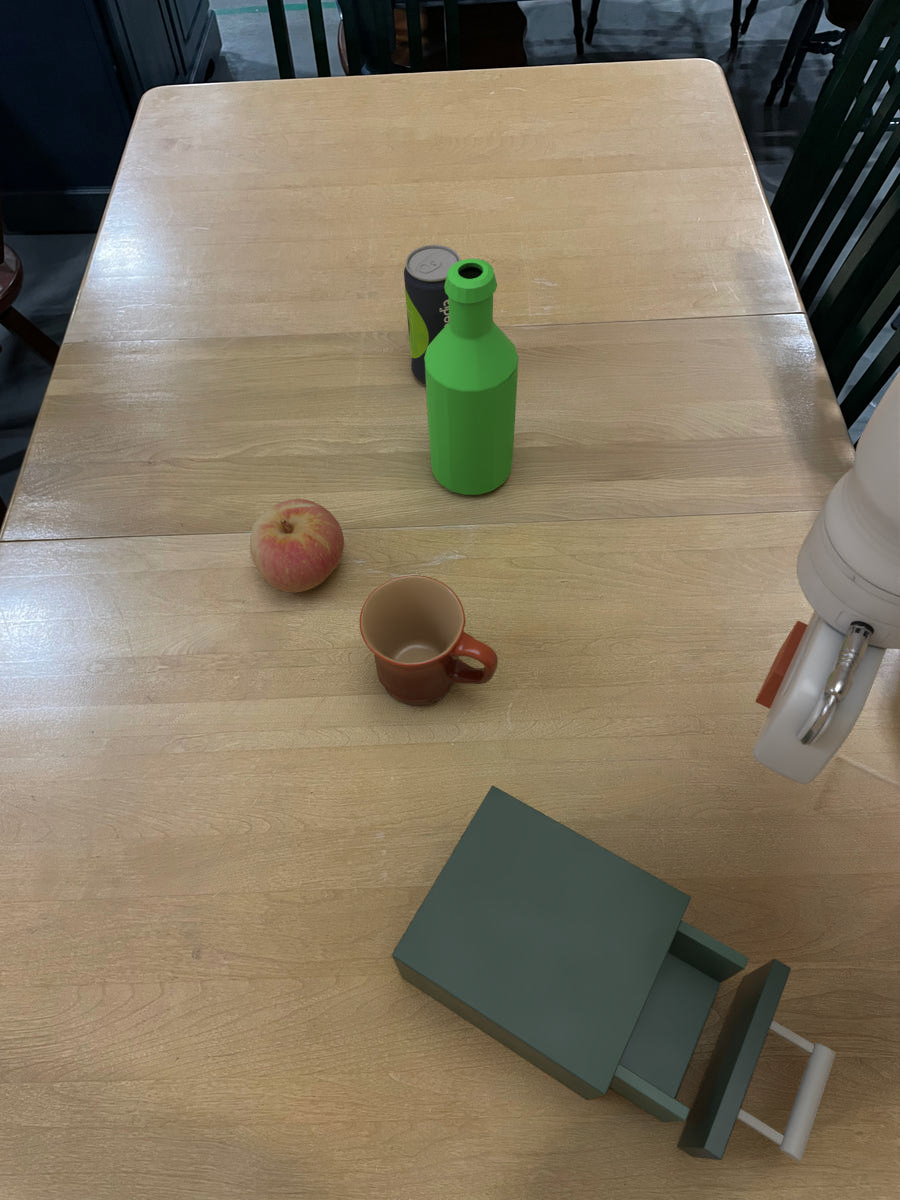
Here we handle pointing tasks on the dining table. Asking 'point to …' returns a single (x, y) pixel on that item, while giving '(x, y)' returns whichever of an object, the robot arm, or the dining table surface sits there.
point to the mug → (421, 640)
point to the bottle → (471, 386)
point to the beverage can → (426, 299)
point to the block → (780, 665)
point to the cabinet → (542, 941)
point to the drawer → (675, 1031)
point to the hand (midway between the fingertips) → (806, 681)
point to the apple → (296, 545)
